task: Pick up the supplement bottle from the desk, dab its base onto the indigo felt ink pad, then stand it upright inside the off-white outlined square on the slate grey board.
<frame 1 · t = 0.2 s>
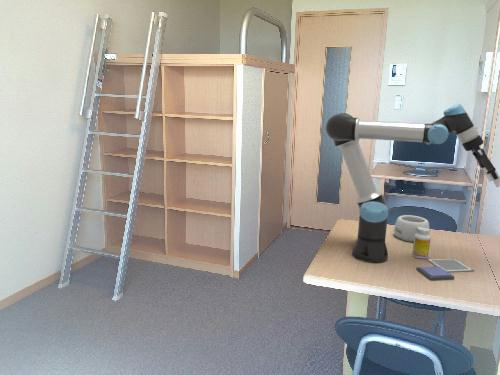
hand: (496, 182, 177), 35 cm above the table, tool tilted 35°, fingers open, 13 cm apart
mug: (412, 239, 212), on the table
supplement bottle: (419, 256, 190), on the table
ink pad: (434, 274, 170), on the table
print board: (449, 265, 180), on the table
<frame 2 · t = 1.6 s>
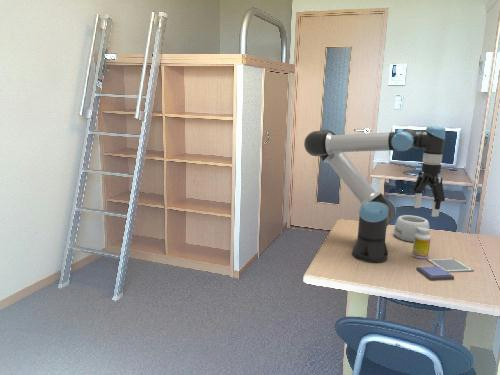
hand: (425, 211, 185), 21 cm above the table, tool pointing down, fingers open, 13 cm apart
nothing on the table moved.
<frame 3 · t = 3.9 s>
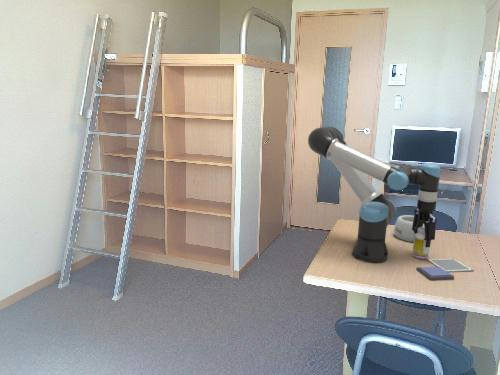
hand: (420, 250, 189), 3 cm above the table, tool pointing down, fingers closed on supplement bottle, 7 cm apart
supplement bottle: (420, 256, 190), on the table, touching gripper
everything else where it was.
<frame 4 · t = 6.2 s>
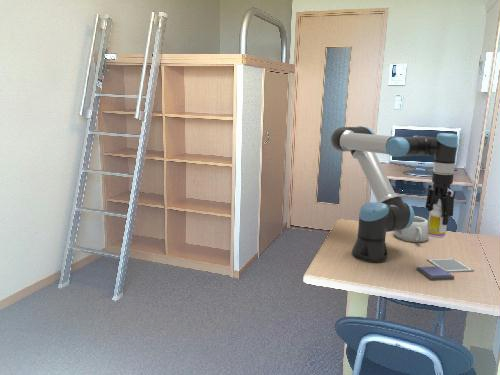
hand: (436, 229, 172), 17 cm above the table, tool pointing down, fingers closed on supplement bottle, 7 cm apart
supplement bottle: (435, 236, 173), point 14 cm above the table, touching gripper
everything else where it was.
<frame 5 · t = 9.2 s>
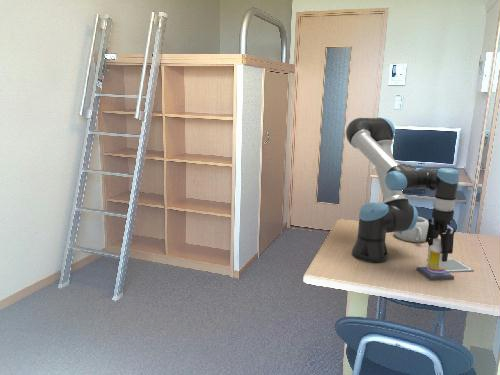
hand: (436, 264, 169), 4 cm above the table, tool pointing down, fingers closed on supplement bottle, 7 cm apart
supplement bottle: (435, 271, 170), point 1 cm above the table, touching gripper, ink pad
everything else where it was.
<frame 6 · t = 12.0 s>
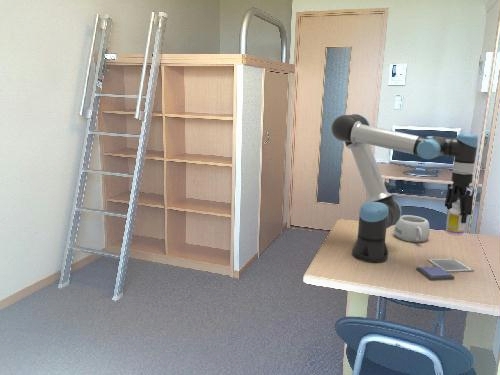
hand: (455, 227, 176), 17 cm above the table, tool pointing down, fingers closed on supplement bottle, 7 cm apart
supplement bottle: (454, 234, 177), point 14 cm above the table, touching gripper
everything else where it was.
when the fingers open (5 cm above the table, at t = 14.6 s): supplement bottle drops 2 cm, resting on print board.
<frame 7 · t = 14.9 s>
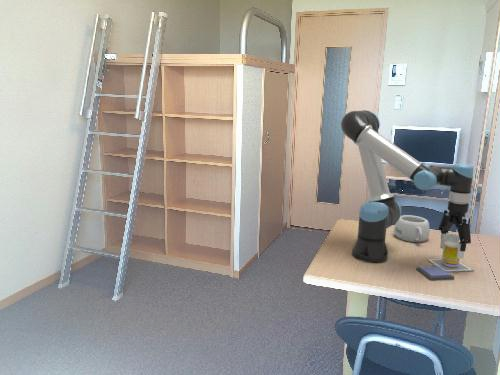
hand: (451, 252, 179), 6 cm above the table, tool pointing down, fingers open, 10 cm apart
supplement bottle: (449, 265, 180), resting on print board
everything else where it was.
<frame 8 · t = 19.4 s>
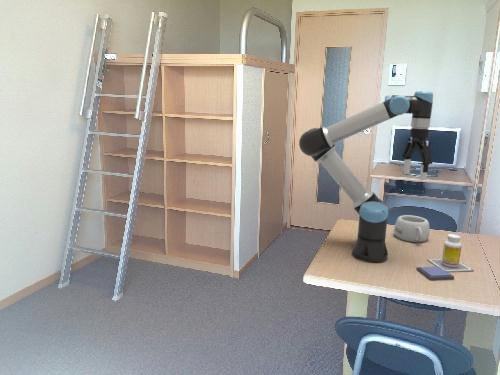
hand: (414, 176, 188), 35 cm above the table, tool pointing down, fingers open, 13 cm apart
nothing on the table moved.
at the end: supplement bottle 0.1 cm off-centre on the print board, point 0.2 cm above the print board's base; supplement bottle tilted 0°; the gripper is holding nothing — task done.
